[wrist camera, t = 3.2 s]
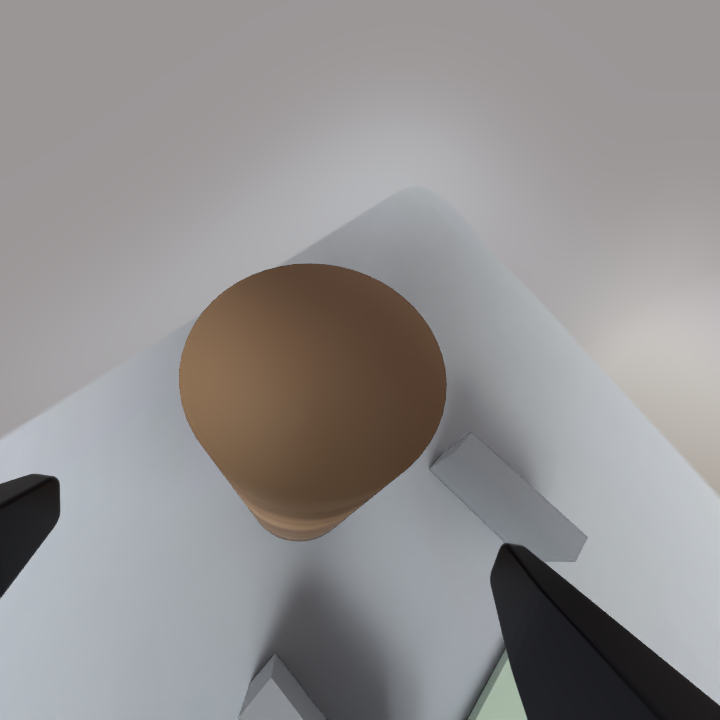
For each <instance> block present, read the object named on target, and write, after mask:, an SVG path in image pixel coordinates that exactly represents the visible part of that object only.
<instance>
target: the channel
mask: <svg viewBox="0 0 720 720" xmlns="http://www.w3.org/2000/svg"><path fill="white" fill-rule="evenodd" d="M430 470H431V471H432V472H433V473H434V474H435V475H436V476H437V477H438V478H439V479H440V480H441V481H442V482H443V483H444V484H445V485H446V486H447V487H448V488H449V489H450V490H451V491H453V492H454V493H455V494H456V495H457V496H458V497H459V498H460V499H461V500H462V501H463V502H464V503H465V504H466V505H467V506H468V507H469V508H470V509H471V510H472V511H473V512H474V513H475V514H476V515H477V516H478V517H479V518H480V519H482V520H483V521H484V522H485V523H486V524H487V525H488V526H489V527H490V528H491V529H492V530H493V531H494V532H495V533H496V534H497V535H498V536H499V537H500V538H501V539H502V540H503V541H504V542H505V543H512V544H519V545H523V546H525V547H526V548H527V549H528V550H530V551H531V552H532V553H533V554H535V555H536V556H537V557H538V558H539V559H541V560H542V561H543V562H575V561H576V559H577V557H578V555H579V553H580V551H581V549H582V548H583V546H584V544H585V542H586V540H587V538H588V537H587V536H586V535H585V534H584V533H583V532H582V531H580V530H579V529H578V528H577V527H576V526H575V525H574V524H573V523H572V522H570V521H569V520H568V519H567V518H566V517H565V516H564V515H563V514H562V513H560V512H559V511H558V510H557V509H556V508H555V507H554V506H553V505H552V504H551V503H549V502H548V501H547V500H546V499H545V498H544V497H543V496H542V495H541V494H539V493H538V492H537V491H536V490H535V489H534V488H533V487H532V486H531V485H529V484H528V483H527V482H526V481H525V480H524V479H523V478H522V477H521V476H519V475H518V474H517V473H516V472H515V471H514V470H513V469H512V468H511V467H510V466H508V465H507V464H506V463H505V462H504V461H503V460H502V459H501V458H500V457H498V456H497V455H496V454H495V453H494V452H493V451H492V450H491V449H490V448H488V447H487V446H486V445H485V444H484V443H483V442H482V441H481V440H480V439H478V438H477V437H476V436H475V435H474V434H473V433H472V432H471V433H470V434H468V435H467V436H465V437H464V438H463V439H461V440H460V441H458V442H457V443H456V444H454V445H453V446H452V447H450V448H449V449H447V450H446V451H445V452H443V453H442V454H441V456H440V457H439V458H438V459H437V460H436V462H435V463H434V464H433V465H432V466H431V468H430ZM238 718H239V719H240V720H327V719H326V718H325V717H324V715H323V714H322V713H321V711H320V710H319V709H318V708H317V706H316V705H315V704H314V702H313V701H312V700H311V699H310V697H309V696H308V695H307V693H306V692H305V691H304V690H303V688H302V687H301V686H300V684H299V683H298V682H297V681H296V679H295V678H294V677H293V675H292V674H291V673H290V672H289V670H288V669H287V668H286V666H285V665H284V664H283V663H282V661H281V660H280V659H279V657H278V656H277V655H276V654H274V655H273V656H272V657H271V659H270V660H269V661H268V662H267V663H266V665H265V666H264V667H263V668H262V669H261V671H260V672H259V673H258V674H257V675H256V677H255V678H254V679H253V680H252V681H251V683H250V684H249V687H248V690H247V693H246V696H245V699H244V702H243V705H242V708H241V711H240V714H239V717H238Z"/></svg>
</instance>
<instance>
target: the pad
mask: <svg viewBox="0 0 720 720" xmlns="http://www.w3.org/2000/svg"><path fill="white" fill-rule="evenodd" d="M468 720H527V717H526V714H525V711H524V707H523V704H522V701H521V698H520V695H519V692H518V689H517V686H516V683H515V680H514V677H513V673H512V670H511V667H510V663H509V659H508V655H507V651H506V649H505V651H504V653H503V654H502V656H501V658H500V660H499V662H498V664H497V666H496V668H495V669H494V671H493V673H492V675H491V677H490V679H489V681H488V682H487V684H486V686H485V688H484V690H483V692H482V694H481V695H480V697H479V699H478V701H477V703H476V705H475V707H474V709H473V710H472V712H471V714H470V716H469V718H468Z"/></svg>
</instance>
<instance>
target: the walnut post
mask: <svg viewBox="0 0 720 720" xmlns="http://www.w3.org/2000/svg"><path fill="white" fill-rule="evenodd" d="M446 385H447V384H446V372H445V366H444V362H443V357H442V354H441V351H440V348H439V345H438V343H437V341H436V339H435V337H434V335H433V333H432V331H431V329H430V328H429V326H428V325H427V323H426V322H425V320H424V319H423V317H422V316H421V315H420V314H419V313H418V311H417V310H416V309H415V308H414V307H413V306H412V305H411V304H410V303H409V302H408V301H407V300H406V299H405V298H404V297H402V296H401V295H400V294H398V293H397V292H396V291H394V290H393V289H392V288H390V287H388V286H387V285H385V284H383V283H382V282H380V281H378V280H376V279H374V278H372V277H370V276H368V275H365V274H362V273H360V272H357V271H354V270H350V269H346V268H343V267H338V266H332V265H325V264H293V265H287V266H280V267H276V268H272V269H269V270H265V271H262V272H259V273H257V274H254V275H251V276H249V277H247V278H245V279H243V280H241V281H239V282H237V283H236V284H234V285H233V286H232V287H230V288H228V289H227V290H226V291H224V292H223V293H222V294H220V295H219V296H218V297H217V298H216V299H215V300H213V301H212V303H211V304H210V305H209V306H208V307H207V308H206V309H205V310H204V311H203V313H202V314H201V315H200V317H199V318H198V320H197V321H196V323H195V324H194V326H193V328H192V330H191V332H190V334H189V336H188V338H187V340H186V343H185V346H184V350H183V353H182V357H181V363H180V369H179V389H180V395H181V401H182V406H183V409H184V412H185V415H186V418H187V421H188V423H189V425H190V427H191V429H192V431H193V433H194V435H195V437H196V438H197V440H198V441H199V442H200V444H201V445H202V447H203V448H204V449H205V451H206V452H207V453H208V455H209V456H210V457H211V459H212V460H213V461H214V463H215V464H216V465H217V467H218V468H219V469H220V471H221V472H222V473H223V475H224V476H225V477H226V479H227V480H228V481H229V483H230V484H231V485H232V487H233V488H234V489H235V491H236V492H237V493H238V495H239V496H240V497H241V499H242V500H243V501H244V503H245V504H246V505H247V507H248V508H249V509H250V511H251V512H252V513H253V515H254V516H255V517H256V519H257V520H258V521H259V523H260V524H261V525H262V526H263V527H264V528H265V529H266V530H267V531H269V532H270V533H272V534H273V535H275V536H277V537H280V538H282V539H285V540H290V541H307V540H312V539H315V538H318V537H320V536H323V535H324V534H326V533H328V532H329V531H331V530H332V529H333V528H335V527H336V526H337V525H338V524H340V523H341V522H342V521H343V520H345V519H346V518H347V517H348V516H350V515H351V514H352V513H353V512H354V511H356V510H357V509H358V508H359V507H361V506H362V505H363V504H364V503H366V502H367V501H368V500H369V499H371V498H372V497H373V496H374V495H376V494H377V493H378V492H379V491H381V490H382V489H383V488H384V487H385V486H387V485H388V484H389V483H390V482H392V481H393V480H394V479H395V478H397V477H398V476H399V475H400V474H402V473H403V472H404V471H405V470H407V469H408V468H409V467H410V466H411V465H412V464H413V463H414V462H415V461H416V460H417V459H418V458H419V457H420V455H421V454H422V453H423V451H424V450H425V449H426V447H427V446H428V445H429V443H430V442H431V440H432V438H433V436H434V434H435V432H436V430H437V428H438V426H439V423H440V420H441V417H442V415H443V410H444V405H445V400H446Z"/></svg>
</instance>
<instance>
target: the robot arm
mask: <svg viewBox="0 0 720 720" xmlns="http://www.w3.org/2000/svg"><path fill="white" fill-rule="evenodd" d="M59 516H60V483H59V480H58V479H57V478H56V477H54V476H48V475H42V474H30V475H27V476H23V477H20V478H17V479H14V480H11V481H8V482H5V483H2V484H0V598H1V597H2V596H3V595H4V593H5V592H6V591H7V589H8V588H9V587H10V585H11V584H12V583H13V581H14V580H15V579H16V577H17V576H18V575H19V573H20V572H21V571H22V569H23V568H24V567H25V565H26V564H27V563H28V561H29V560H30V559H31V557H32V556H33V555H34V553H35V552H36V551H37V549H38V548H39V547H40V545H41V544H42V543H43V541H44V540H45V539H46V537H47V536H48V535H49V533H50V532H51V531H52V529H53V528H54V527H55V525H56V523H57V521H58V519H59ZM490 582H491V588H492V592H493V596H494V601H495V605H496V609H497V613H498V618H499V622H500V626H501V630H502V635H503V639H504V643H505V647H506V651H507V655H508V659H509V663H510V667H511V670H512V673H513V677H514V680H515V683H516V686H517V689H518V692H519V695H520V698H521V701H522V704H523V707H524V711H525V714H526V717H527V720H720V705H718V704H717V703H716V702H715V701H713V700H712V699H711V698H710V697H708V696H707V695H706V694H705V693H704V692H702V691H701V690H700V689H699V688H697V687H696V686H695V685H694V684H693V683H691V682H690V681H689V680H688V679H686V678H685V677H684V676H683V675H682V674H680V673H679V672H678V671H677V670H675V669H674V668H673V667H672V666H670V665H669V664H668V663H667V662H666V661H664V660H663V659H662V658H661V657H659V656H658V655H657V654H656V653H655V652H653V651H652V650H651V649H650V648H648V647H647V646H646V645H645V644H644V643H642V642H641V641H640V640H639V639H637V638H636V637H635V636H634V635H633V634H631V633H630V632H629V631H628V630H626V629H625V628H624V627H623V626H621V625H620V624H619V623H618V622H617V621H615V620H614V619H613V618H612V617H610V616H609V615H608V614H607V613H606V612H604V611H603V610H602V609H601V608H599V607H598V606H597V605H596V604H595V603H593V602H592V601H591V600H590V599H588V598H587V597H586V596H585V595H584V594H582V593H581V592H580V591H579V590H577V589H576V588H575V587H574V586H572V585H571V584H570V583H569V582H568V581H566V580H565V579H564V578H563V577H561V576H560V575H559V574H558V573H557V572H555V571H554V570H553V569H552V568H550V567H549V566H548V565H547V564H546V563H544V562H543V561H542V560H541V559H539V558H538V557H537V556H536V555H535V554H533V553H532V552H531V551H530V550H528V549H527V548H526V547H525V546H523V545H519V544H512V543H504V544H502V546H501V547H500V549H499V552H498V555H497V558H496V560H495V563H494V566H493V568H492V571H491V576H490Z"/></svg>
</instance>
